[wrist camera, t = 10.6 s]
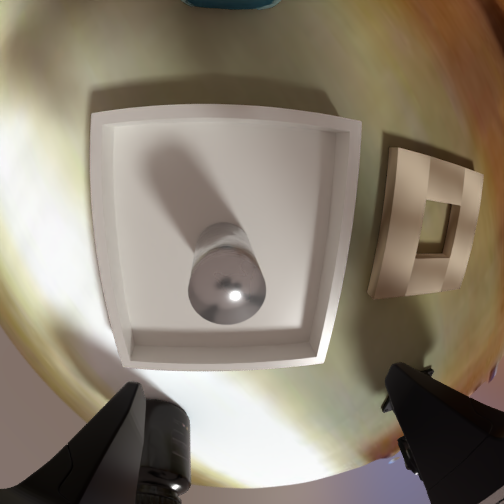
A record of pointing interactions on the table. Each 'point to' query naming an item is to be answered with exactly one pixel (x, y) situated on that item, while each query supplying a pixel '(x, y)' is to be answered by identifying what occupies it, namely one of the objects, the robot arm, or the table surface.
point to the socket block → (410, 223)
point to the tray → (222, 210)
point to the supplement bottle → (164, 455)
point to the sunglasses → (233, 4)
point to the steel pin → (225, 276)
